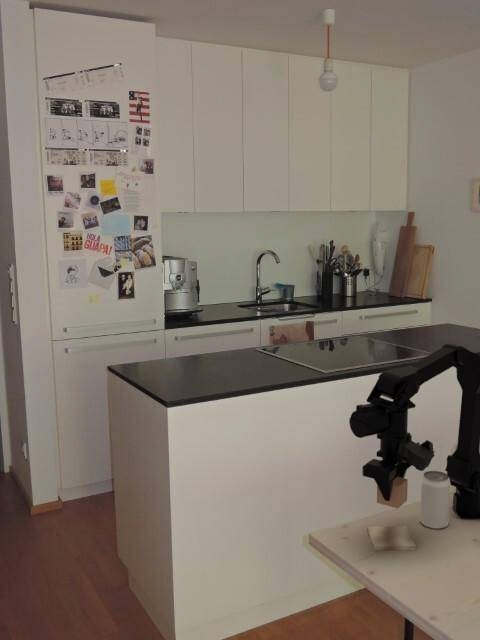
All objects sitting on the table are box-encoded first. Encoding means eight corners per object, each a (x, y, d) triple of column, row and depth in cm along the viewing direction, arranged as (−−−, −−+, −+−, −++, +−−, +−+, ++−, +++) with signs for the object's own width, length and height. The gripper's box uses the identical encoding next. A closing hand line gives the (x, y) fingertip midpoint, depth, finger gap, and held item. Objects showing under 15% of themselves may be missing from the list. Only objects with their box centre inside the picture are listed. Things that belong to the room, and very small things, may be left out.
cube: (386, 494, 148) (386, 474, 147) (407, 500, 145) (407, 479, 144) (376, 502, 144) (377, 481, 143) (398, 508, 141) (398, 486, 141)
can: (449, 530, 150) (452, 481, 148) (420, 528, 151) (422, 479, 150) (446, 518, 156) (448, 470, 154) (419, 516, 158) (420, 469, 156)
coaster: (405, 530, 151) (406, 526, 150) (415, 550, 142) (415, 546, 142) (367, 530, 151) (367, 526, 151) (374, 550, 142) (374, 546, 142)
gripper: (412, 449, 130) (410, 522, 132) (445, 424, 145) (442, 490, 147) (361, 438, 137) (360, 508, 139) (398, 415, 151) (396, 479, 154)
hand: (392, 496), depth 145 cm, fingers closed on cube, 5 cm apart
